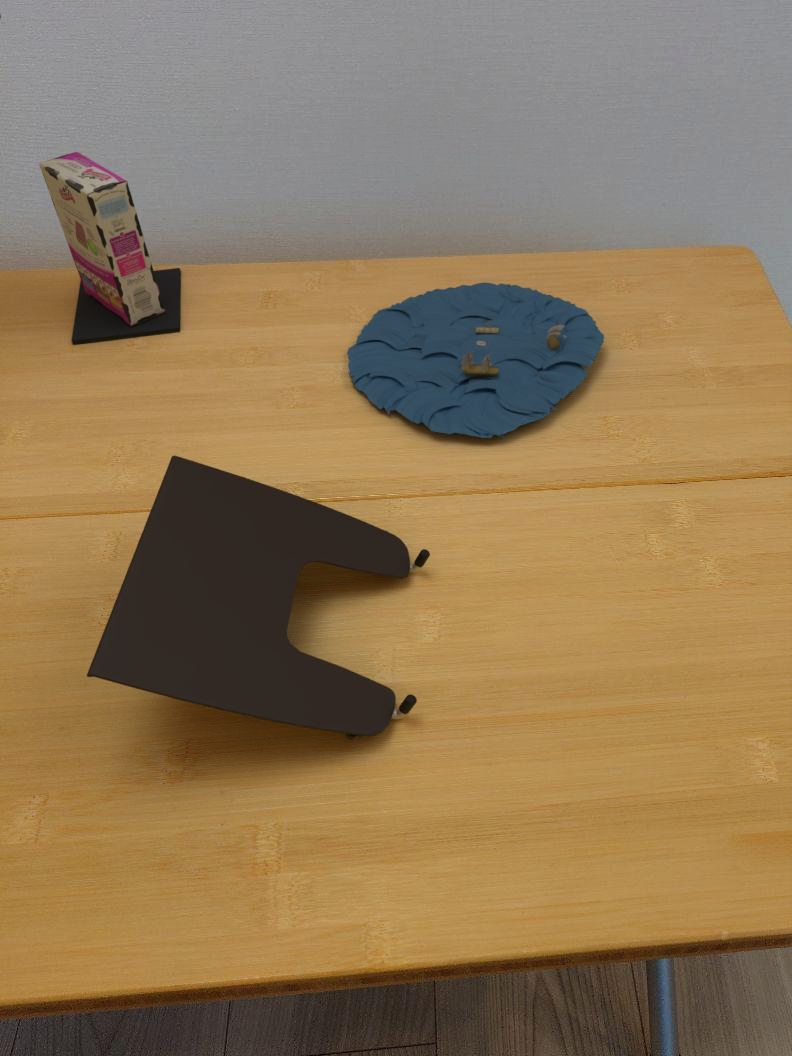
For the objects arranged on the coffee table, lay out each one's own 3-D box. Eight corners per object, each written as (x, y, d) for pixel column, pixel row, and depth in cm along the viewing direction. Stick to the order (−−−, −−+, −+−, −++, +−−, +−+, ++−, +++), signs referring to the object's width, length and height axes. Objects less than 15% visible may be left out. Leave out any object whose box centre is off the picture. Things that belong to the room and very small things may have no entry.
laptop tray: (371, 796, 77) (413, 741, 71) (71, 727, 69) (91, 658, 63) (396, 583, 93) (433, 524, 87) (155, 507, 85) (178, 436, 79)
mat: (72, 344, 110) (71, 340, 110) (82, 283, 119) (80, 278, 119) (180, 331, 112) (178, 327, 112) (181, 271, 122) (179, 267, 121)
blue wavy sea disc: (348, 464, 98) (338, 425, 94) (350, 304, 118) (343, 267, 115) (629, 435, 100) (631, 395, 96) (584, 282, 120) (584, 245, 117)
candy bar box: (169, 311, 114) (129, 179, 102) (131, 328, 111) (86, 194, 100) (120, 277, 119) (77, 148, 108) (83, 293, 117) (34, 161, 105)
